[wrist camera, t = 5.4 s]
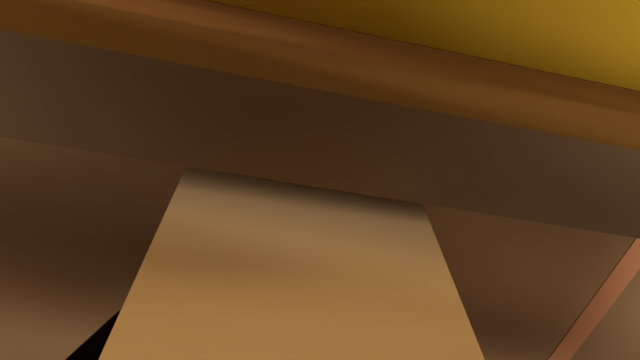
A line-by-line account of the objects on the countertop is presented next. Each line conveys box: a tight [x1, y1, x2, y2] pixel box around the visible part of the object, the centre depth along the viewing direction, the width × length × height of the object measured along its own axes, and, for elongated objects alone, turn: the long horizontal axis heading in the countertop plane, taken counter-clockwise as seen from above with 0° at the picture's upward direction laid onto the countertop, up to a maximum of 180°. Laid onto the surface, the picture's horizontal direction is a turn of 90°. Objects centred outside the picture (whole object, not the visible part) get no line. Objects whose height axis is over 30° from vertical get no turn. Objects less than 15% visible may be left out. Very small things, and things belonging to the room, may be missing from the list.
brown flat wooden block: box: [0, 0, 640, 360], centre depth 10 cm, size 12×24×4 cm, turn 78°
